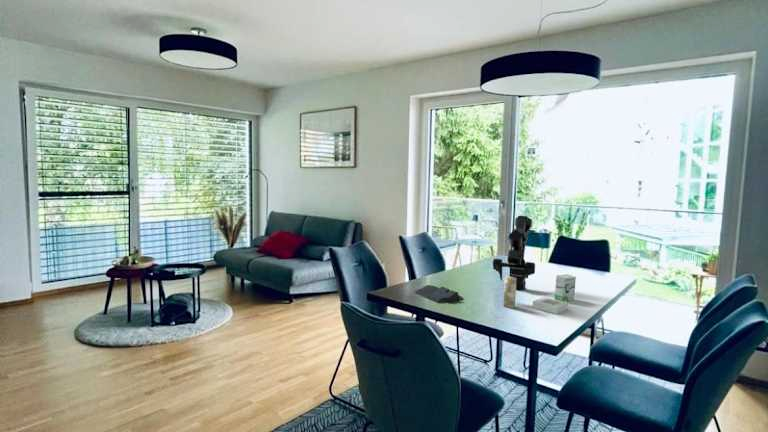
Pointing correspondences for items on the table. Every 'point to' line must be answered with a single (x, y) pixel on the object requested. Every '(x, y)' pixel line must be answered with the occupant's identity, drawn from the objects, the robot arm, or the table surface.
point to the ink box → (565, 287)
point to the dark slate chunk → (439, 294)
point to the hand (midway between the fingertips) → (511, 281)
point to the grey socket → (550, 305)
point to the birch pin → (509, 292)
